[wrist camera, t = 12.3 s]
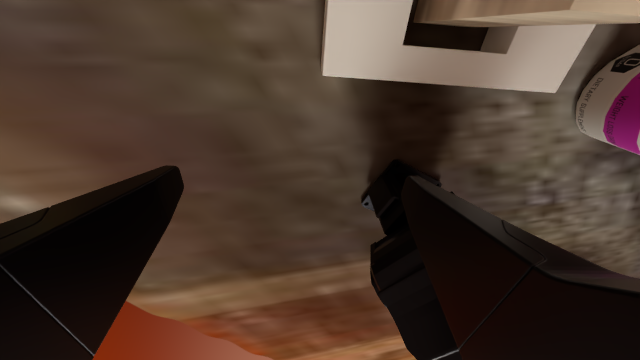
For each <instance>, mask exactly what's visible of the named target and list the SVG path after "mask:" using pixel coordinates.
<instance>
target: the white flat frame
mask: <svg viewBox="0 0 640 360" xmlns="http://www.w3.org/2000/svg"><path fill="white" fill-rule="evenodd" d="M412 2H413V0H325V13H324V28H323V42H322V57H321V73H322V76H334V77H347V78H361V79H374V80H387V81H401V82H414V83H428V84H441V85H455V86H468V87H481V88H495V89H508V90H522V91H535V92H549V93H556V91H557V89H558V88H559V86H560V84H561V82H562V81H563V79H564V77H565V76H566V74H567V72H568V71H569V69H570V67H571V66H572V64H573V62H574V61H575V59H576V57H577V56H578V54H579V52H580V51H581V49H582V47H583V46H584V44H585V42H586V40H587V39H588V37H589V35H590V34H591V32H592V30H593V29H594V27H595V25H596V24H583V25H542V26H501V27H489V29H488V31H487V34H486V36H485V39H484V41H483V44H482V46H481V49H480V51H471V50H459V49H448V48H436V47H425V46H413V45H403V41H404V37H405V33H406V28H407V24H408V20H409V15H410V11H411V7H412Z"/></svg>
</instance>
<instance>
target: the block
mask: <svg viewBox="0 0 640 360" xmlns="http://www.w3.org/2000/svg"><path fill="white" fill-rule="evenodd" d="M413 23H423V24H435V25H448V26H460V27H501V26H542V25H583V24H624V23H640V0H418V3H417V8H416V12H415V16H414V21H413Z"/></svg>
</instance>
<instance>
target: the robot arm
mask: <svg viewBox="0 0 640 360" xmlns="http://www.w3.org/2000/svg"><path fill="white" fill-rule="evenodd" d="M395 164H398V165H397V166H395ZM436 184H437V185H436ZM440 187H441V183H440V181H438V180H437V179H435V178H433V177H431V176H429V175H427V174H425V173H423V172H421V171H419V170H417V169H415V168H413V167H411V166H409V165H408V164H406V163H404V162H402V161H400V160H394V161H392V163H391V164H390V165H389V166H388V168H387V169H386V170H385V172H384V173H383V174H382V175H380V176H379V178H378V179H377V180H376V182H375V183H374V184H373V185H372V187H371V188H370V189H369V191H368V193H367V195H366V196H365V197H364V198H363V200H362V201H361V203H362V206H363V207H365V208H368V209H370V210H372V211H375V214H376V217H377V218H379V220H380V223H381V226H382V228H383V231H384V233H385V234H386V235H387V236H386V237H384V238H383V239H381V240H380V241H378V242H377V243H376V242H375V243H373V244H372V245H371V268H370V274H371V283H372V285H373V287H374V289H375V291H376V293H377V295H378V297H379V298H380V300H381V301H382V303H383V304H384V305H385V306H386V307H387V308H388V310H389V312H390V314H391V315H392V317H393V319H394V321H395V323H396V325H397V327H398V329H399V332H400V334H401V336H402V339H403V341H404V343H405V346H406V348H407V349H408V351H409V352H410V353H411V354H412V355H413V356H414V357H415V358H416V359H417V360H640V279H638V278H633V277H629V276H625V275H622V274H619V273H616V272H613V271H610V270H608V269H605V268H603V267H601V266H599V265H596V264H594V263H592V262H590V261H588V260H586V259H583V258H581V257H579V256H577V255H575V254H573V253H571V252H568V251H566V250H564V249H562V248H560V247H558V246H555V245H553V244H551V243H549V242H547V241H545V240H543V239H541V238H538V237H536V236H534V235H532V234H530V233H528V232H526V231H524V230H522V229H520V228H518V227H516V226H514V225H512V224H510V223H508V222H506V221H504V220H501V219H500V218H499V217H497V216H495V215H493V214H491V213H489V212H487V211H485V210H483V209H481V208H479V207H477V206H475V205H473V204H471V203H469V202H467V201H465V200H464V199H462V198H460V197H458V196H456V195H455V194H454V193H453V192H452V191H451V192H448V191H446V190H444V189H442V188H440ZM183 189H184V184H183V180H182V177H181V173H180V170H179V168H178V167H177V166H162V167H160V168H157V169H154V170H151V171H148V172H146V173H143V174H140V175H137V176H134V177H131V178H129V179H126V180H123V181H120V182H117V183H115V184H112V185H109V186H106V187H103V188H101V189H98V190H95V191H92V192H89V193H86V194H84V195H81V196H78V197H75V198H72V199H70V200H67V201H64V202H61V203H58V204H56V205H53V206H51V207H50V208H49V207H47V208H44V209H41V210H39V211H36V212H33V213H30V214H27V215H24V216H21V217H18V218H16V219H13V220H10V221H7V222H4V223H1V224H0V360H92V359H93V358H94V357H93V356H94V355H95V354H96V352H97V350H98V348H99V347H100V345H101V343H102V341H103V340H104V338H105V336H106V334H107V333H108V331H109V329H110V327H111V325H112V324H113V322H114V320H115V318H116V317H117V315H118V313H119V311H120V309H121V307H122V306H123V304H124V303H125V301H126V299H127V297H128V296H129V294H130V292H131V290H132V288H133V287H134V285H135V283H136V281H137V280H138V278H139V276H140V274H141V273H142V271H143V269H144V267H145V266H146V264H147V262H148V260H149V258H150V257H151V255H152V253H153V251H154V250H155V248H156V246H157V244H158V243H159V241H160V239H161V237H162V236H163V234H164V232H165V230H166V228H167V227H168V225H169V223H170V221H171V219H172V216H173V214H174V212H175V209H176V207H177V204H178V202H179V200H180V197H181V195H182V192H183ZM365 202H368V203H365Z"/></svg>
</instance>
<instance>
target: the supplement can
mask: <svg viewBox="0 0 640 360" xmlns="http://www.w3.org/2000/svg"><path fill="white" fill-rule="evenodd" d="M576 123H577V125H578V128H579V130H580V131H581V132H582V133H584V134H586V135H588V136H590V137H593V138H595V139H598V140H601V141H603V142H606V143H609V144H612V145H614V146H617V147H620V148H622V149H625V150H628V151H630V152H633V153H636V154H638V155H640V45H638V46H636V47H635V48H633V49H631V50H630V51H628V52H626V53H624V54H623V55H621V56H619V57H618V58H616V59H614V60H613V61H611V62H609V63H608V64H607V65H606V66H605V67H604V68H602V69H601V70H600V71H599V72H598V73H597V74H596V75H594V77H593V78H592V79H591V81H590V82H589V83H588V84H587V86H586V87H585V88H584V89H583V91H582V93H581V96H580V98H579V100H578V102H577V106H576Z"/></svg>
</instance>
